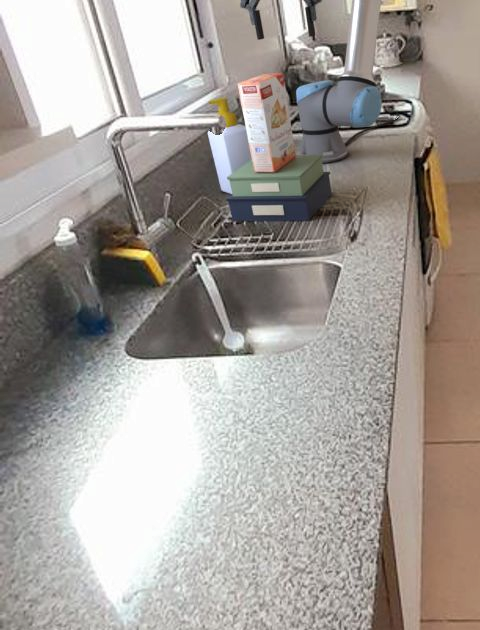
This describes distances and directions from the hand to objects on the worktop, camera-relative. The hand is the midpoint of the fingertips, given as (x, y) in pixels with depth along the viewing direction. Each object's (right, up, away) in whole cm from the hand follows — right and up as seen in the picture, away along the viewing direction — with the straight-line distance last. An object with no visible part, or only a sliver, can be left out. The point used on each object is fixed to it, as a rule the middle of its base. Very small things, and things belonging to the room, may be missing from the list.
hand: (286, 37), depth 152 cm
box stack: (-2, -41, +6) cm, 42 cm away
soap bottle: (-17, -34, +21) cm, 44 cm away
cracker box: (-3, -32, +1) cm, 32 cm away
